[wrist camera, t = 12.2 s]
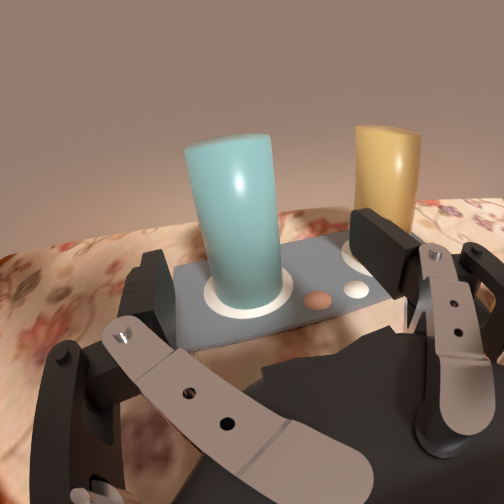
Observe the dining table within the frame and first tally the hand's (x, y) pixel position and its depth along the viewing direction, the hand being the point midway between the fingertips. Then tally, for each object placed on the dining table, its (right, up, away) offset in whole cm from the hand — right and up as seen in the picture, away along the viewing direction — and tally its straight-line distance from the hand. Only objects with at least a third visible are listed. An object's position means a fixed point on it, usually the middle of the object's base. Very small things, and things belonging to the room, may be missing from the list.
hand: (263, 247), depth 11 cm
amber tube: (+11, -1, +12) cm, 16 cm away
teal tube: (-1, -3, +10) cm, 11 cm away
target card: (+5, -2, +11) cm, 13 cm away
